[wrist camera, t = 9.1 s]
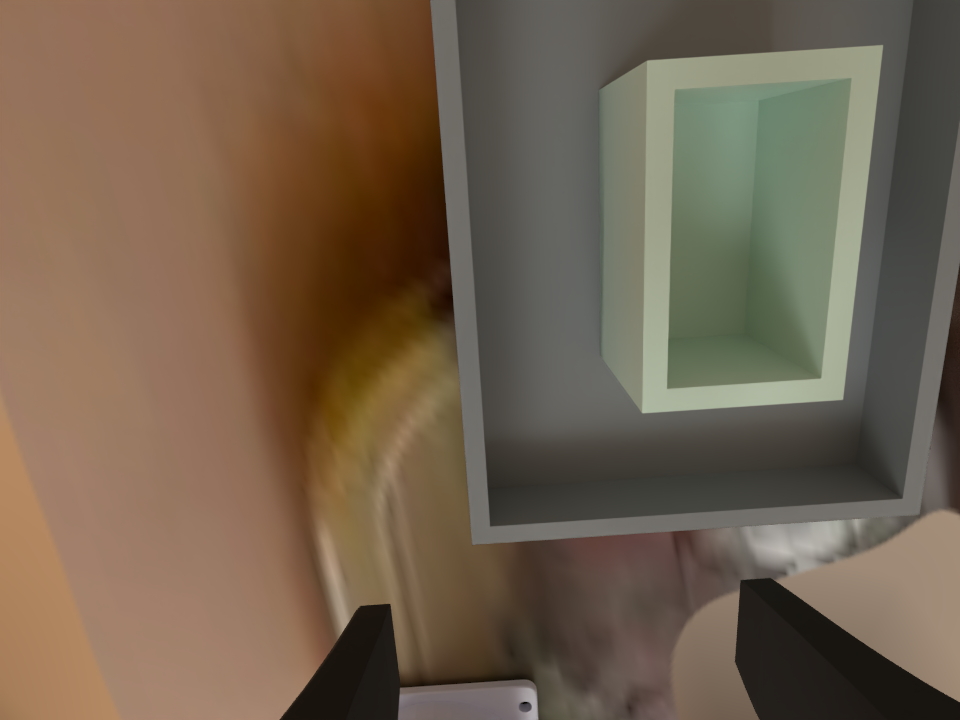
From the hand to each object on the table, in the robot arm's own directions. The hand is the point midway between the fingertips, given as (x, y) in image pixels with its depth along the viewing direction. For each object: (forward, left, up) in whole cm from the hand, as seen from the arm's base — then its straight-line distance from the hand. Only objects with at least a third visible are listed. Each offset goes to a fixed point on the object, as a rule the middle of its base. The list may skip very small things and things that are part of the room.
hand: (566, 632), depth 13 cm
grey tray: (+7, -5, -9) cm, 13 cm away
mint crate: (+7, -5, -9) cm, 12 cm away
